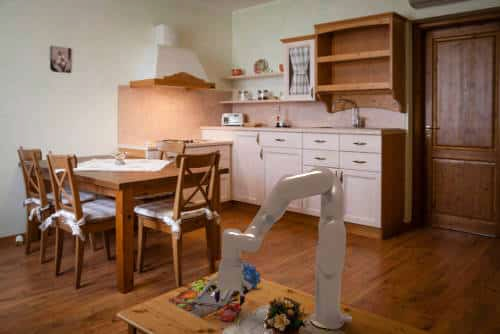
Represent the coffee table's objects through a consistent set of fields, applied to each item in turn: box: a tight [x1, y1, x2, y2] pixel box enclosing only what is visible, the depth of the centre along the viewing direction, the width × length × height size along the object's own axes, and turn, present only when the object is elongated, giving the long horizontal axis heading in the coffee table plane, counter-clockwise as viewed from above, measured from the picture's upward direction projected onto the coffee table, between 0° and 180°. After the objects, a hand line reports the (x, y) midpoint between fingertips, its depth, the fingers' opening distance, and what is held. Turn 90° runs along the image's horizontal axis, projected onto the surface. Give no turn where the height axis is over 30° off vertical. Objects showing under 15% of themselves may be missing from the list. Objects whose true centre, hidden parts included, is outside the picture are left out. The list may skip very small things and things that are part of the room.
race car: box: [219, 301, 242, 323], centre depth 171 cm, size 13×5×4 cm, turn 160°
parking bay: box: [192, 281, 231, 308], centre depth 189 cm, size 14×21×2 cm, turn 168°
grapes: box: [242, 262, 262, 289], centre depth 196 cm, size 12×7×12 cm, turn 84°
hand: (229, 302), depth 171 cm, fingers open, 9 cm apart
